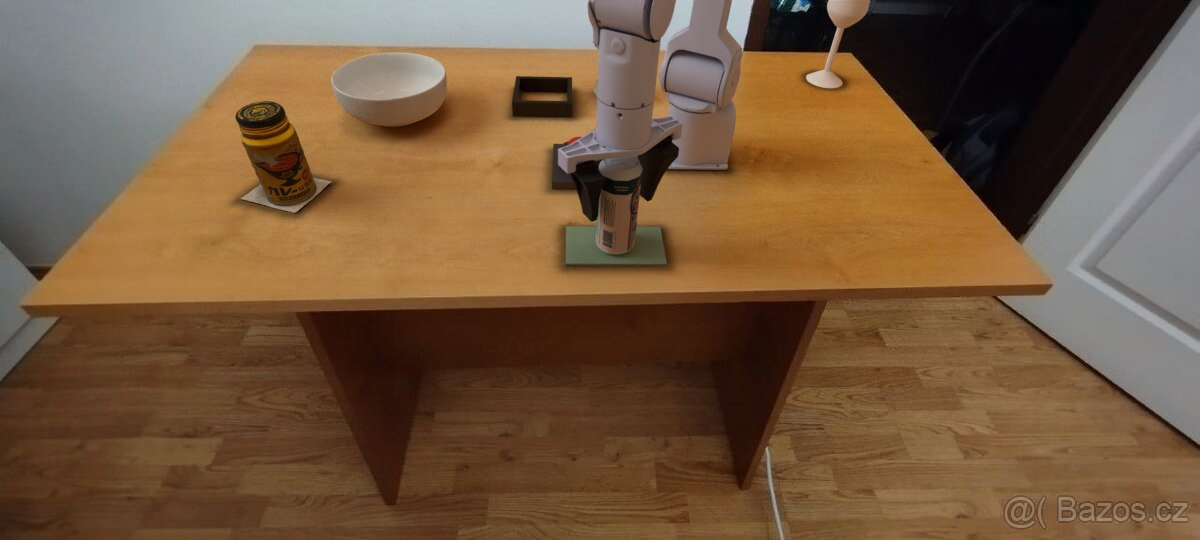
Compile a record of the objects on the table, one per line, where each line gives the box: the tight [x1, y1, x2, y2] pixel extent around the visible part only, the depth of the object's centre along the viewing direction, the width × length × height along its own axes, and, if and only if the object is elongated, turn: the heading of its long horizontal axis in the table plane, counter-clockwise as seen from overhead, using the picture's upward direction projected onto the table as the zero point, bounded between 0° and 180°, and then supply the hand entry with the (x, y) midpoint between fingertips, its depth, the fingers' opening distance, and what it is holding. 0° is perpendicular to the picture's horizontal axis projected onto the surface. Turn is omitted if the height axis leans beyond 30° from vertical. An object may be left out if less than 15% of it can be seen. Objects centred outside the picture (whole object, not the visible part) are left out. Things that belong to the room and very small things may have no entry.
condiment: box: [234, 100, 332, 213], centre depth 72 cm, size 7×8×12 cm
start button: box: [567, 136, 582, 145], centre depth 81 cm, size 4×4×2 cm
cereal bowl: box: [330, 51, 448, 128], centre depth 90 cm, size 17×17×7 cm
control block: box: [551, 140, 603, 190], centre depth 82 cm, size 12×10×3 cm
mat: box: [565, 225, 668, 267], centre depth 71 cm, size 12×7×1 cm, turn 92°
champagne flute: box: [805, 0, 871, 89], centre depth 100 cm, size 7×7×24 cm
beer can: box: [595, 156, 642, 255], centre depth 66 cm, size 5×5×12 cm
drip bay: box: [511, 75, 573, 118], centre depth 96 cm, size 10×10×2 cm
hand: (617, 206), depth 67 cm, fingers open, 7 cm apart
